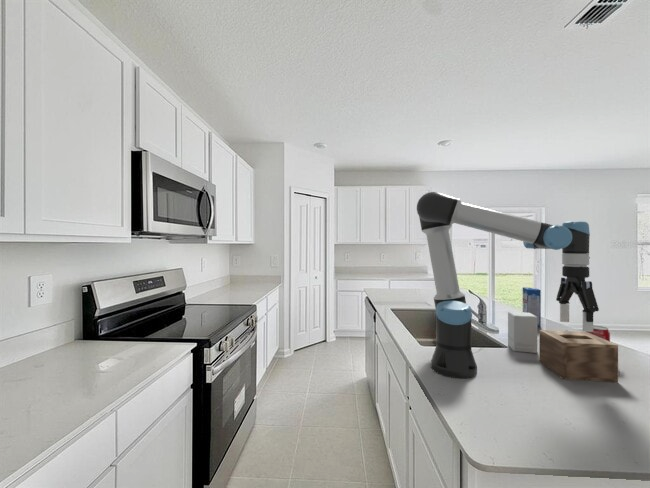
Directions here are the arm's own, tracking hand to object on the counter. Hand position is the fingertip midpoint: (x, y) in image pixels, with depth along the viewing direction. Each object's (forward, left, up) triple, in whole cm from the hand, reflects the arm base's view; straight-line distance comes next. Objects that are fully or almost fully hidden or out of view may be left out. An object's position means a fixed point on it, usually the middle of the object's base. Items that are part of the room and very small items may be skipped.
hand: (575, 326), depth 114 cm
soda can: (+14, +12, -16) cm, 24 cm away
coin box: (0, 0, -16) cm, 16 cm away
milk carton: (+15, +69, -16) cm, 72 cm away
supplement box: (-8, +23, -16) cm, 29 cm away
